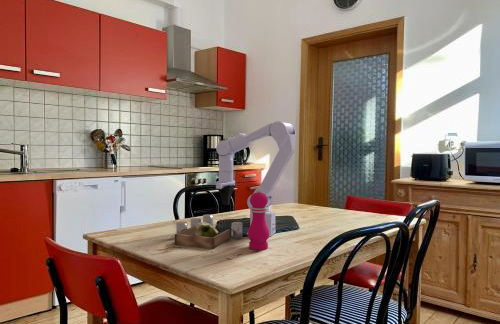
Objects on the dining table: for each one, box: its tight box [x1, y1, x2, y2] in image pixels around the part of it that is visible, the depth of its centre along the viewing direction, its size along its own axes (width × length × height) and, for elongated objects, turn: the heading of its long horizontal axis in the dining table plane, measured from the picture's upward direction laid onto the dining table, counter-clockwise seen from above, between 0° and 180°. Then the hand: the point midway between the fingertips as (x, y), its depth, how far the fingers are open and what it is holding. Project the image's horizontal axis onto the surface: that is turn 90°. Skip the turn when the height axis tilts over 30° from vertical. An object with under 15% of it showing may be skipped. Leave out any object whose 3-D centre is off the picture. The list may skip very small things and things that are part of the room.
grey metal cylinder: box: [202, 214, 214, 227], centre depth 155 cm, size 4×4×6 cm
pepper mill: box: [247, 187, 270, 251], centre depth 127 cm, size 7×7×20 cm
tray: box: [174, 226, 231, 250], centre depth 134 cm, size 15×14×4 cm
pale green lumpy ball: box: [195, 221, 219, 237], centre depth 133 cm, size 9×9×8 cm
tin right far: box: [175, 221, 188, 234], centre depth 140 cm, size 4×4×6 cm
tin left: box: [231, 221, 244, 240], centre depth 140 cm, size 4×4×6 cm
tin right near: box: [190, 217, 202, 228], centre depth 147 cm, size 4×4×6 cm
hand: (225, 204), depth 154 cm, fingers closed
